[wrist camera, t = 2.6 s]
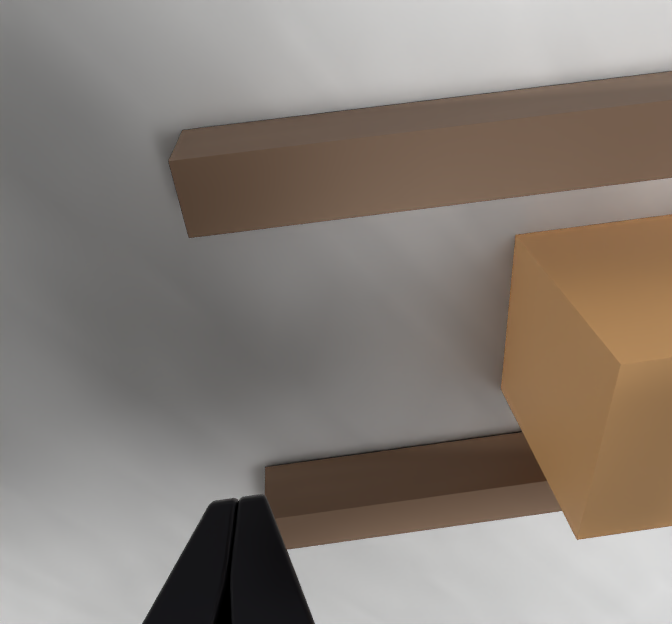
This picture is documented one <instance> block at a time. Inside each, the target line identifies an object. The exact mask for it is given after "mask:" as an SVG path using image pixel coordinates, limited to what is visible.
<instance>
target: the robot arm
mask: <svg viewBox="0 0 672 624" xmlns="http://www.w3.org/2000/svg"><path fill="white" fill-rule="evenodd" d="M142 624H315V622H314V620H313V617H312V615H311V612H310V609H309V607H308V604H307V601H306V599H305V596H304V594H303V591H302V588H301V586H300V583H299V581H298V578H297V575H296V573H295V570H294V567H293V565H292V562H291V560H290V557H289V554H288V552H287V549H286V547H285V544H284V541H283V539H282V536H281V533H280V531H279V528H278V526H277V523H276V520H275V518H274V515H273V513H272V510H271V507H270V505H269V502H268V500H267V497H266V496H265V495H263V494H260V495H252V496H245V497H242V498H241V499H240V500H239V501H238V499H236V498H231V499H223V500H216V501H213V502H212V503H210V505H209V506H208V508H207V509H206V511H205V513H204V515H203V516H202V518H201V520H200V522H199V524H198V525H197V527H196V529H195V531H194V532H193V534H192V536H191V538H190V540H189V541H188V543H187V545H186V547H185V548H184V550H183V552H182V554H181V556H180V557H179V559H178V561H177V563H176V564H175V566H174V568H173V570H172V572H171V573H170V575H169V577H168V579H167V580H166V582H165V584H164V586H163V588H162V589H161V591H160V593H159V595H158V596H157V598H156V600H155V602H154V604H153V605H152V607H151V609H150V611H149V613H148V614H147V616H146V618H145V620H144V621H143V623H142Z"/></svg>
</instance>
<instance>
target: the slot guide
mask: <svg viewBox="0 0 672 624" xmlns="http://www.w3.org/2000/svg"><path fill="white" fill-rule="evenodd" d="M168 162H169V166H170V170H171V173H172V177H173V181H174V184H175V188H176V192H177V196H178V199H179V203H180V207H181V211H182V214H183V218H184V222H185V226H186V229H187V233H188V237H189V238H194V237H202V236H210V235H218V234H226V233H234V232H242V231H250V230H258V229H266V228H274V227H282V226H289V225H297V224H305V223H313V222H321V221H329V220H337V219H345V218H353V217H361V216H369V215H377V214H385V213H393V212H401V211H409V210H417V209H425V208H433V207H441V206H449V205H457V204H465V203H473V202H481V201H489V200H497V199H505V198H513V197H521V196H529V195H537V194H545V193H553V192H561V191H569V190H577V189H585V188H593V187H601V186H609V185H617V184H625V183H633V182H640V181H648V180H656V179H664V178H672V71H670V72H662V73H653V74H645V75H637V76H628V77H620V78H612V79H603V80H595V81H587V82H578V83H570V84H562V85H553V86H545V87H537V88H529V89H520V90H512V91H504V92H495V93H487V94H479V95H470V96H462V97H454V98H445V99H437V100H429V101H420V102H412V103H404V104H396V105H387V106H379V107H371V108H362V109H354V110H346V111H337V112H329V113H321V114H312V115H304V116H296V117H287V118H279V119H271V120H263V121H254V122H246V123H238V124H229V125H221V126H213V127H204V128H196V129H188V130H182V132H181V134H180V137H179V139H178V141H177V143H176V145H175V148H174V150H173V152H172V154H171V156H170V158H169V161H168ZM265 496H266V497H267V500H268V502H269V505H270V507H271V510H272V513H273V515H274V518H275V520H276V523H277V526H278V528H279V531H280V533H281V536H282V539H283V541H284V544H285V547H286V549H294V548H301V547H308V546H316V545H323V544H330V543H337V542H344V541H351V540H358V539H365V538H373V537H380V536H387V535H394V534H401V533H408V532H415V531H422V530H429V529H437V528H444V527H451V526H458V525H465V524H472V523H479V522H486V521H493V520H501V519H508V518H515V517H522V516H529V515H536V514H543V513H550V512H558V511H562V509H561V507H560V505H559V503H558V501H557V499H556V497H555V495H554V493H553V491H552V489H551V487H550V485H549V484H548V482H547V480H546V478H545V476H544V474H543V472H542V470H541V468H540V466H539V464H538V462H537V460H536V458H535V456H534V454H533V452H532V450H531V448H530V446H529V444H528V442H527V440H526V438H525V436H524V434H523V432H519V433H512V434H504V435H497V436H490V437H482V438H475V439H468V440H460V441H453V442H446V443H438V444H431V445H424V446H416V447H409V448H402V449H394V450H387V451H380V452H373V453H365V454H358V455H351V456H343V457H336V458H329V459H321V460H314V461H307V462H299V463H292V464H285V465H277V466H270V467H265Z"/></svg>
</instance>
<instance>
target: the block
mask: <svg viewBox="0 0 672 624" xmlns="http://www.w3.org/2000/svg"><path fill="white" fill-rule="evenodd" d="M501 390H502V392H503V394H504V396H505V398H506V400H507V402H508V404H509V406H510V408H511V410H512V412H513V414H514V416H515V418H516V420H517V422H518V424H519V426H520V428H521V430H522V432H523V434H524V436H525V438H526V440H527V442H528V444H529V446H530V448H531V450H532V452H533V454H534V456H535V458H536V460H537V462H538V464H539V466H540V468H541V470H542V472H543V474H544V476H545V478H546V480H547V482H548V484H549V485H550V487H551V489H552V491H553V493H554V495H555V497H556V499H557V501H558V503H559V505H560V507H561V509H562V511H563V513H564V515H565V517H566V519H567V521H568V523H569V525H570V527H571V529H572V531H573V533H574V535H575V537H576V539H577V540H579V539H586V538H592V537H599V536H606V535H613V534H620V533H627V532H633V531H640V530H647V529H654V528H661V527H667V526H672V214H671V215H663V216H656V217H648V218H640V219H633V220H625V221H617V222H610V223H602V224H594V225H587V226H579V227H571V228H564V229H556V230H548V231H541V232H533V233H525V234H518V235H515V246H514V256H513V267H512V277H511V288H510V299H509V309H508V320H507V330H506V341H505V351H504V362H503V372H502V383H501Z"/></svg>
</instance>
